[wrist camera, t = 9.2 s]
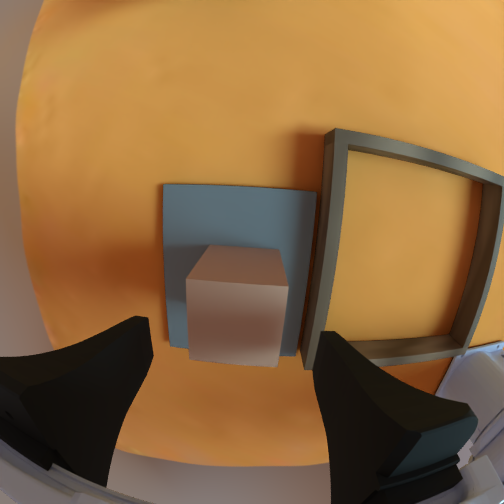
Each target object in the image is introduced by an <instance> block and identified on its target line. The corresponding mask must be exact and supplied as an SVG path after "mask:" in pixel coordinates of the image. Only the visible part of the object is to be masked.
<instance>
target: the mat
mask: <svg viewBox="0 0 504 504" xmlns="http://www.w3.org/2000/svg"><path fill="white" fill-rule="evenodd" d="M316 198H317V192H313V191H302V190H290V189H278V188H264V187H247V186H227V185H197V184H163V253H164V277H165V294H166V307H167V319H168V330H169V340H170V346H172V347H179V348H187V349H189V345H188V327H187V303H186V278H187V276H188V275H189V274H190V272H191V271H192V269H193V268H194V266H195V265H196V264H197V262H198V261H199V259H200V258H201V256H202V255H203V254H204V252H205V251H206V249H207V248H208V247H209V245H222V246H236V247H250V248H264V249H278V250H280V254H281V258H282V262H283V266H284V270H285V274H286V278H287V282H288V286H289V289H288V296H287V304H286V312H285V319H284V326H283V333H282V340H281V347H280V354H279V356H296V350H297V345H298V339H299V333H300V327H301V321H302V314H303V308H304V301H305V294H306V287H307V280H308V272H309V264H310V256H311V248H312V239H313V230H314V220H315V210H316Z"/></svg>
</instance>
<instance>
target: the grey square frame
mask: <svg viewBox="0 0 504 504" xmlns="http://www.w3.org/2000/svg"><path fill="white" fill-rule="evenodd" d="M348 150H352V151H358V152H364V153H369V154H374V155H380V156H385V157H389V158H394V159H399V160H403V161H407V162H412V163H416V164H420V165H424V166H428V167H431V168H435V169H439V170H442V171H446V172H449V173H452V174H456V175H459V176H462V177H465V178H468V179H471V180H474V181H477V182H480V183H483V193H482V203H481V211H480V219H479V226H478V232H477V238H476V243H475V248H474V253H473V258H472V262H471V267H470V271H469V275H468V279H467V282H466V286H465V289H464V293H463V296H462V300H461V303H460V306H459V309H458V312H457V315H456V318H455V321H454V323H453V326H452V329H451V331H450V334H448V335H440V336H431V337H420V338H409V339H395V340H378V341H350V342H348V343H349V344H350V345H352V346H353V347H354V348H355V349H356V350H357V351H359V352H360V353H361V354H362V355H363V356H365V357H366V358H367V359H368V360H370V361H371V362H372V363H374V364H375V365H376V366H378V367H383V366H393V365H402V364H410V363H417V362H424V361H431V360H437V359H443V358H448V357H454V356H459V355H463V354H465V353H466V351H467V348H468V346H469V344H470V342H471V339H472V337H473V334H474V332H475V329H476V327H477V324H478V321H479V319H480V316H481V313H482V310H483V307H484V304H485V301H486V298H487V295H488V292H489V288H490V285H491V281H492V277H493V274H494V270H495V266H496V261H497V257H498V252H499V247H500V242H501V237H502V231H503V224H504V177H503V176H501V175H499V174H497V173H494V172H492V171H490V170H487V169H485V168H482V167H480V166H477V165H474V164H472V163H469V162H466V161H464V160H461V159H458V158H455V157H452V156H449V155H446V154H443V153H440V152H437V151H434V150H430V149H427V148H423V147H420V146H416V145H413V144H409V143H405V142H401V141H397V140H393V139H389V138H384V137H380V136H375V135H370V134H365V133H360V132H355V131H349V130H343V129H337V128H335V129H333V130H331V131H330V132H328V133H327V134H325V143H324V161H323V175H322V188H321V200H320V211H319V221H318V230H317V239H316V248H315V256H314V264H313V272H312V279H311V286H310V293H309V300H308V306H307V313H306V319H305V325H304V331H303V336H302V342H301V348H300V352H301V357H302V362H303V366H304V370H312V368H313V364H314V360H315V355H316V351H317V346H318V342H319V337H320V332H321V331H324V329H325V325H326V320H327V315H328V309H329V304H330V299H331V293H332V287H333V281H334V275H335V269H336V262H337V256H338V249H339V241H340V233H341V225H342V216H343V207H344V197H345V186H346V173H347V158H348Z"/></svg>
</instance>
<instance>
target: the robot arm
mask: <svg viewBox="0 0 504 504" xmlns="http://www.w3.org/2000/svg"><path fill="white" fill-rule="evenodd" d="M503 346H504V341H499V342H495V343H491V344H487V345H483V346H478V347H473V348H469V349H467V351H466V353H465V354H463V355H459V356H454V358H453V360H452V362H451V364H450V366H449V368H448V370H447V372H446V374H445V376H444V378H443V380H442V382H441V384H440V386H439V388H438V390H437V392H436V393H435V395H432V394H429V393H426V392H424V391H421V390H419V389H417V388H414V387H412V386H410V385H408V384H406V383H404V382H402V381H400V380H398V379H397V378H395V377H393V376H391V375H390V374H388V373H386V372H385V371H383V370H382V369H380V368H379V367H378V366H376V365H375V364H374V363H372V362H371V361H370V360H368V359H367V358H366V357H365V356H363V355H362V354H361V353H360V352H359V351H357V350H356V349H355V348H354V347H353V346H352V345H350V344H349V343H348V342H347V341H346V340H345V339H344V338H342V337H341V336H340V335H339V334H338V333H336V332H335V331H321V332H320V337H319V342H318V346H317V351H316V355H315V360H314V364H313V368H312V371H313V380H314V388H315V392H316V396H317V400H318V404H319V408H320V411H321V415H322V419H323V423H324V427H325V431H326V436H327V443H328V452H329V462H330V477H331V504H504V351H503V350H502V348H503ZM153 356H154V355H153V348H152V342H151V335H150V327H149V320H148V317H141V316H133V317H131V318H129V319H127V320H125V321H123V322H121V323H119V324H117V325H115V326H113V327H111V328H109V329H107V330H105V331H103V332H101V333H99V334H97V335H95V336H93V337H90V338H88V339H86V340H84V341H82V342H79V343H77V344H74V345H71V346H68V347H65V348H62V349H59V350H55V351H51V352H46V353H42V354H36V355H30V356H20V357H0V489H1V490H2V491H3V492H4V493H5V494H7V495H8V496H9V497H10V498H11V499H13V500H14V501H15V502H17V503H18V504H154V503H151V502H147V501H143V500H140V499H136V498H134V497H130V496H127V495H124V494H121V493H119V492H116V491H113V490H110V489H108V488H106V486H107V480H108V475H109V469H110V464H111V460H112V456H113V452H114V449H115V445H116V442H117V439H118V435H119V432H120V429H121V426H122V424H123V421H124V418H125V416H126V414H127V411H128V409H129V407H130V406H131V404H132V402H133V400H134V398H135V396H136V394H137V392H138V390H139V389H140V387H141V385H142V383H143V381H144V379H145V377H146V375H147V373H148V370H149V368H150V365H151V362H152V359H153ZM469 439H470V440H471V442H472V443H473V446H472V447H471V448H470V449H469V450H470V452H471V453H472V455H471V456H470V458H469V461H468V464H466V465H465V466H463V467H462V468H460V470H459V469H458V467H457V465H456V464H457V463H458V462H459V461H460V458H459V456H458V455H457V453H458V452H459V451H460V449H461V448H462V447H463V446H464V445H465V443H466V442H467V441H468V440H469Z"/></svg>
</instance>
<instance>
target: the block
mask: <svg viewBox="0 0 504 504" xmlns="http://www.w3.org/2000/svg"><path fill="white" fill-rule="evenodd" d="M288 289H289V286H288V282H287V278H286V274H285V270H284V266H283V262H282V258H281V254H280V250H278V249H264V248H250V247H236V246H222V245H209V247H208V248H207V249H206V251H205V252H204V254H203V255H202V256H201V258H200V259H199V261H198V262H197V264H196V265H195V266H194V268H193V269H192V271H191V272H190V274H189V275H188V276H187V278H186V303H187V327H188V345H189V359H190V360H198V361H206V362H215V363H225V364H236V365H249V366H266V367H278V360H279V354H280V347H281V340H282V333H283V326H284V319H285V312H286V304H287V296H288Z"/></svg>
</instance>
